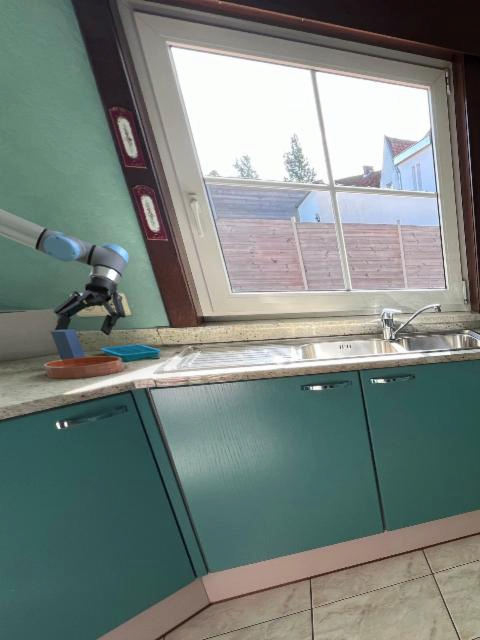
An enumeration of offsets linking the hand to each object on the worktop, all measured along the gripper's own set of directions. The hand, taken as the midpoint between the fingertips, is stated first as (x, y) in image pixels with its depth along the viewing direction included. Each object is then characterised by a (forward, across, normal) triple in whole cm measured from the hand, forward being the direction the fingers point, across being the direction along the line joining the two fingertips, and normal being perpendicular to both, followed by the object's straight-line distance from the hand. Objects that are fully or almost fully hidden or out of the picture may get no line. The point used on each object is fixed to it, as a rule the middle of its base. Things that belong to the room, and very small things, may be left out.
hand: (82, 332), depth 165 cm
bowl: (+19, -11, +5) cm, 23 cm away
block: (+12, 0, -2) cm, 12 cm away
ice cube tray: (+1, -6, -14) cm, 15 cm away
